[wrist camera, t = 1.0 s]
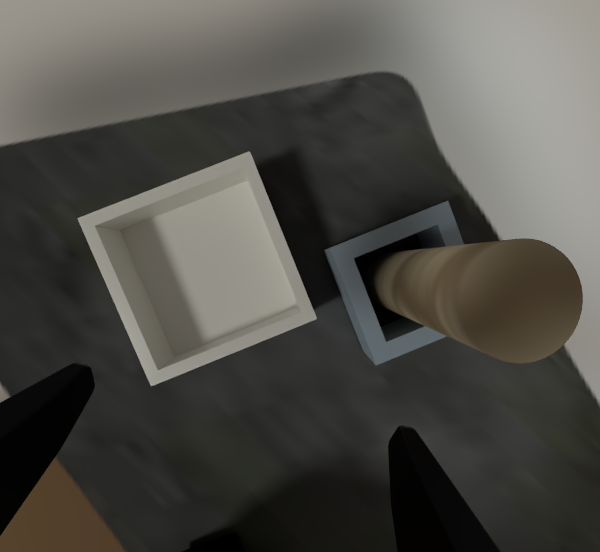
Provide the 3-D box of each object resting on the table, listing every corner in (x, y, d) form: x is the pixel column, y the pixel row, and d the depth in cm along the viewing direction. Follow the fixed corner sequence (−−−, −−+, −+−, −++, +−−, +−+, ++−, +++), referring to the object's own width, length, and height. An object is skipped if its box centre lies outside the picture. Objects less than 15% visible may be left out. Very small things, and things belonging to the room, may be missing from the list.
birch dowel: (429, 296, 24) (599, 335, 11) (377, 317, 24) (486, 382, 11) (409, 243, 24) (559, 219, 11) (357, 264, 23) (443, 266, 10)
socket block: (461, 310, 24) (491, 318, 20) (363, 350, 24) (376, 365, 20) (424, 210, 24) (448, 200, 20) (323, 250, 23) (329, 248, 20)
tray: (312, 310, 23) (317, 318, 20) (171, 367, 23) (151, 386, 20) (255, 168, 23) (249, 151, 19) (109, 225, 23) (77, 218, 19)
